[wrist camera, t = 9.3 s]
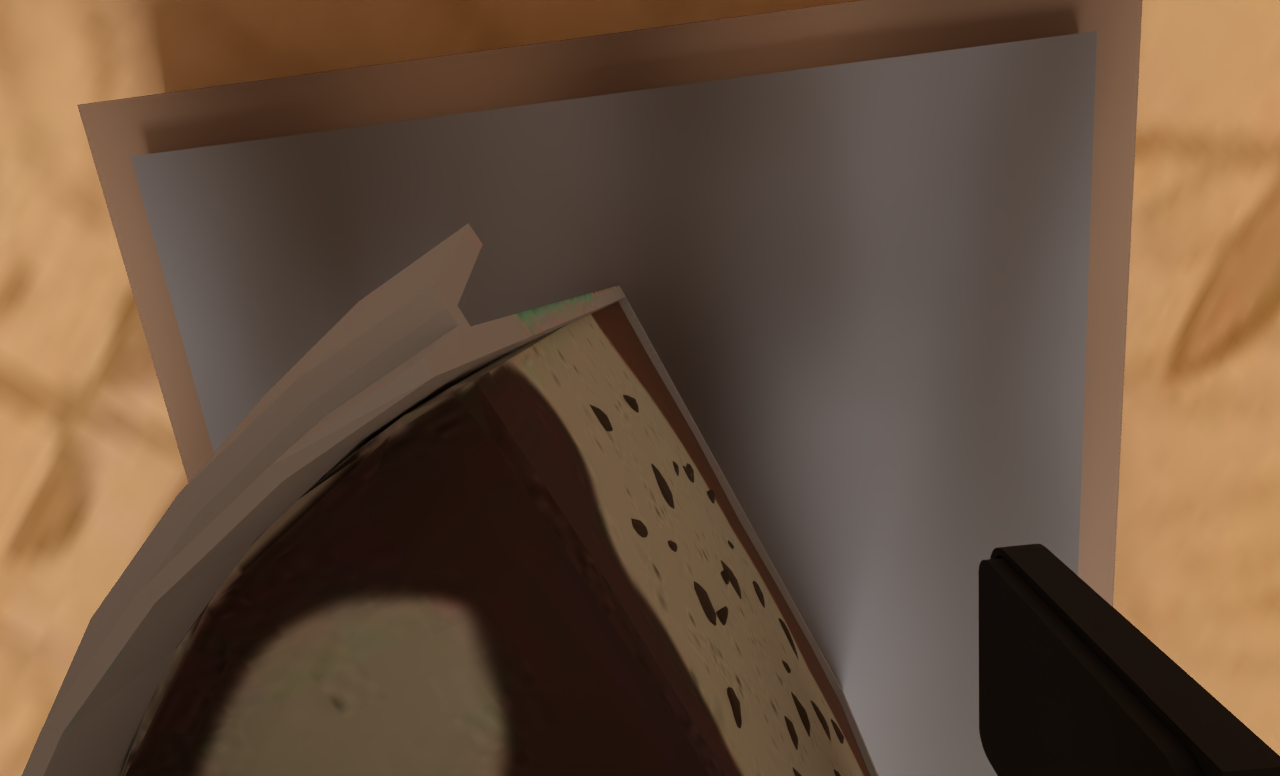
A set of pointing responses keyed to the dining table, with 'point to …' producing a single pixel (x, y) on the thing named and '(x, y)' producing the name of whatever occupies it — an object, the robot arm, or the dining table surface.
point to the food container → (456, 573)
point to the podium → (722, 277)
